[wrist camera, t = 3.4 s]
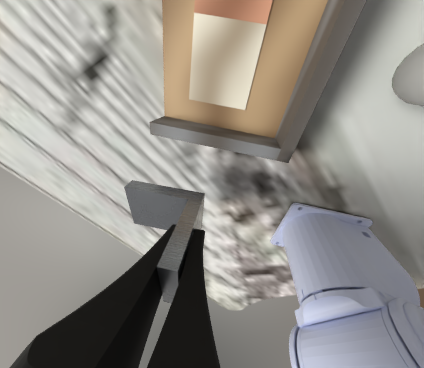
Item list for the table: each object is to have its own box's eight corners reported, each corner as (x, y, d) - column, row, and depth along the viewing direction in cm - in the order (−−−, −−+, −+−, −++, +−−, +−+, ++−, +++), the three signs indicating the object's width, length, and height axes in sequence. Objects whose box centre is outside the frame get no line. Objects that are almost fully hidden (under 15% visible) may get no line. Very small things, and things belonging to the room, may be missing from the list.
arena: (360, -46, 9) (419, -109, 6) (279, 148, 16) (288, 162, 13) (164, -72, 10) (130, -142, 7) (167, 125, 16) (150, 134, 13)
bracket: (204, 193, 12) (177, 271, 7) (201, 227, 14) (179, 305, 9) (132, 180, 12) (58, 244, 7) (140, 215, 15) (88, 282, 10)
